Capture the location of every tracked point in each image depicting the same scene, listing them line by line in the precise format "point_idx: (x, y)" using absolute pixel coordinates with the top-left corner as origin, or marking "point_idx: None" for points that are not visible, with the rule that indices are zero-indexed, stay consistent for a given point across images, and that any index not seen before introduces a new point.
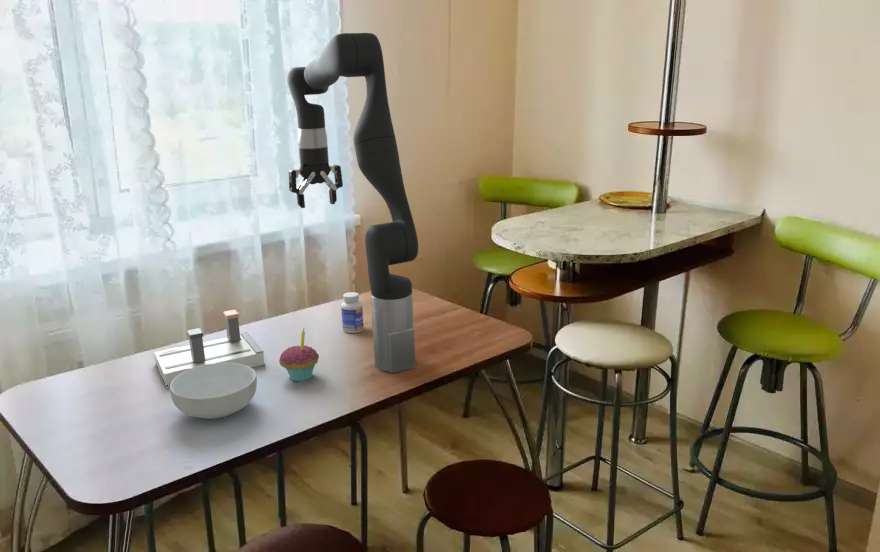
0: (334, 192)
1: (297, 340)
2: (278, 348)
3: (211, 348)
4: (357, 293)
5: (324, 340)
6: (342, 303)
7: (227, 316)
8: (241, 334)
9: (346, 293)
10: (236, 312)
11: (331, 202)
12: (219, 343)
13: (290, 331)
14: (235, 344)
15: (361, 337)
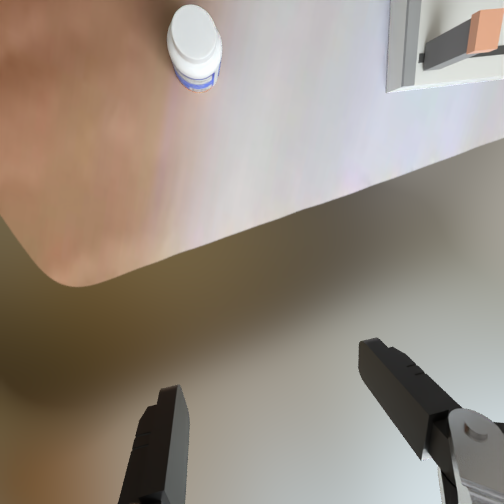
0: (139, 484)
1: (309, 67)
2: (349, 41)
3: None
4: (173, 30)
5: (264, 37)
6: (218, 50)
7: (501, 9)
8: (413, 79)
9: (204, 50)
10: (480, 22)
11: (182, 404)
12: None
13: (309, 125)
14: (436, 31)
15: None
